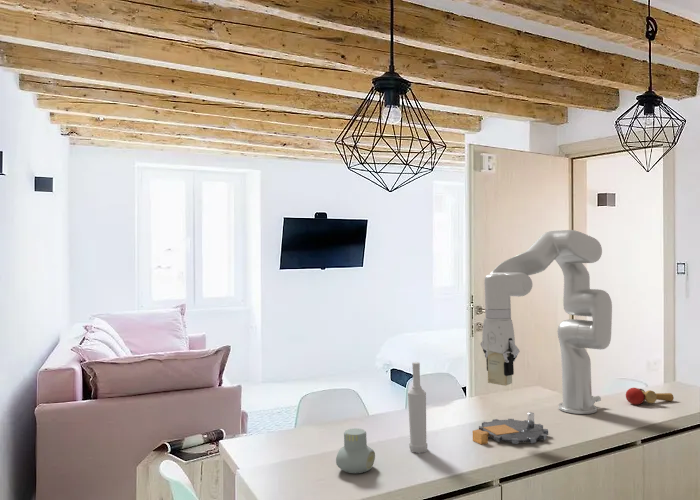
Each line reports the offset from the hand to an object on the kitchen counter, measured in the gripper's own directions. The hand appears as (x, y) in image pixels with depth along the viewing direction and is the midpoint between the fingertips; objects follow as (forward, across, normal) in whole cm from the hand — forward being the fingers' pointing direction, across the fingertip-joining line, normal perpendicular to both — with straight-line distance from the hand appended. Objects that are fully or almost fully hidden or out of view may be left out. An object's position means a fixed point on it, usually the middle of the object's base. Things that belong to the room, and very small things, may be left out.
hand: (500, 372), depth 168 cm
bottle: (+20, -3, -28) cm, 34 cm away
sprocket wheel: (+20, 0, +4) cm, 20 cm away
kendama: (+20, -2, +71) cm, 74 cm away
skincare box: (+3, 0, 0) cm, 3 cm away
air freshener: (+20, +1, -50) cm, 54 cm away
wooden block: (+20, 0, -1) cm, 20 cm away
